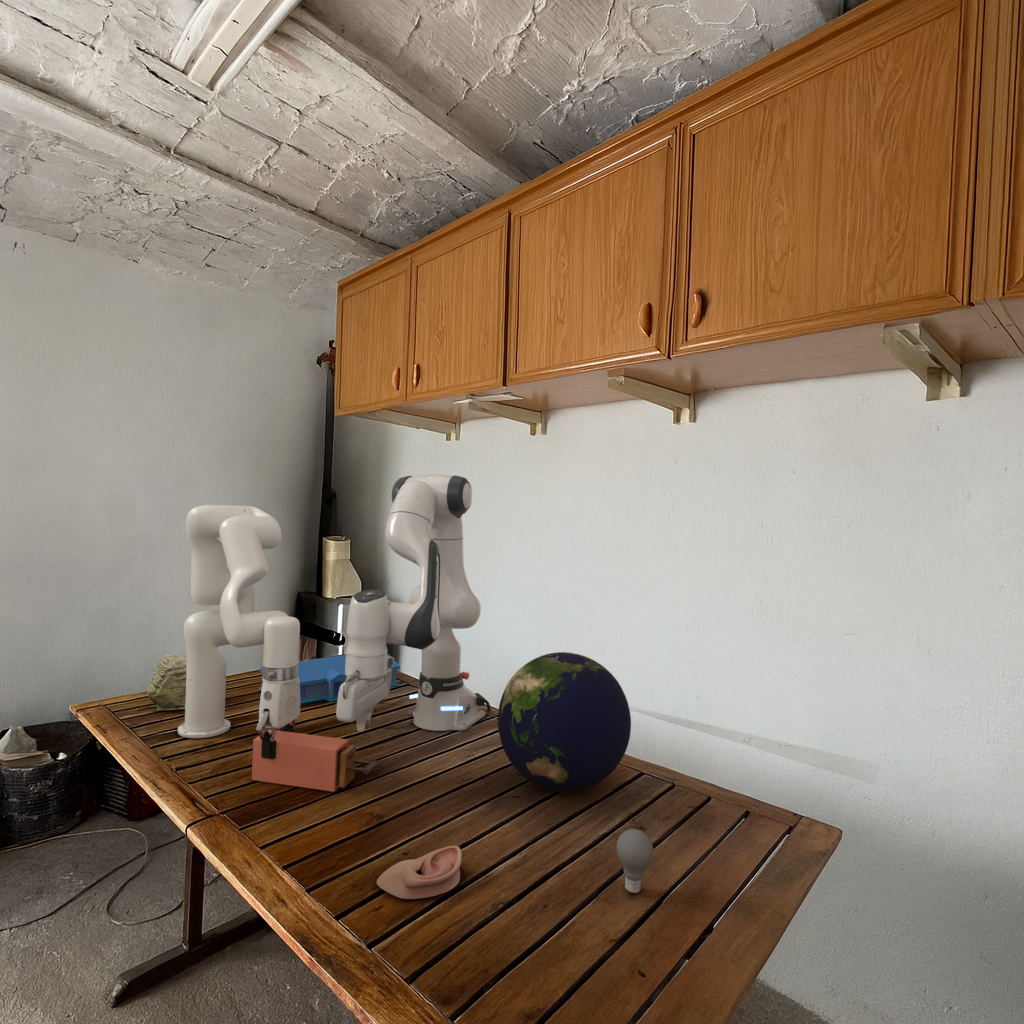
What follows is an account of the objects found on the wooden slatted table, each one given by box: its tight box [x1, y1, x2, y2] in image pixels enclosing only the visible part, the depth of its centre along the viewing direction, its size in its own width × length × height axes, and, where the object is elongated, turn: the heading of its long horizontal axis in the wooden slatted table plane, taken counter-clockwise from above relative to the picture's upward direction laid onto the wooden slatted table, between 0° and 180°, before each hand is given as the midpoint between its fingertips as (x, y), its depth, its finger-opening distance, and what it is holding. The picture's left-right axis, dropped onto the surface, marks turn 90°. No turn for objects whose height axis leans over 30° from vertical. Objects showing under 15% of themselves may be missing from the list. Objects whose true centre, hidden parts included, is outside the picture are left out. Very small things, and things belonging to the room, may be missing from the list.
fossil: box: [147, 654, 187, 712], centre depth 185 cm, size 9×18×15 cm, turn 132°
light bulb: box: [615, 828, 654, 894], centre depth 106 cm, size 6×6×10 cm
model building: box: [258, 652, 401, 705], centre depth 208 cm, size 39×24×10 cm, turn 132°
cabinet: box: [251, 729, 350, 793], centre depth 141 cm, size 20×6×9 cm, turn 79°
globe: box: [497, 651, 632, 793], centre depth 143 cm, size 30×30×30 cm
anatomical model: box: [376, 845, 463, 900], centre depth 106 cm, size 13×4×12 cm
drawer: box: [336, 744, 378, 789], centre depth 140 cm, size 24×5×7 cm, turn 79°
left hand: (277, 751), depth 142 cm, fingers closed on cabinet, 6 cm apart
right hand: (363, 729), depth 138 cm, fingers closed
